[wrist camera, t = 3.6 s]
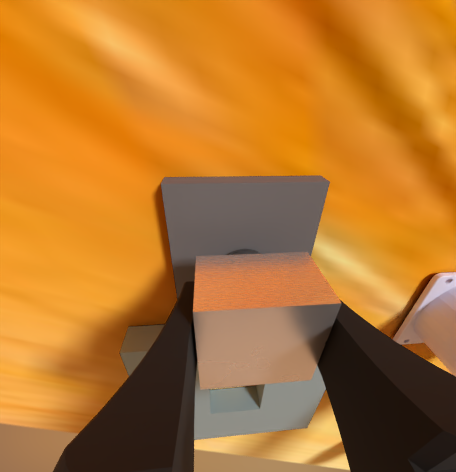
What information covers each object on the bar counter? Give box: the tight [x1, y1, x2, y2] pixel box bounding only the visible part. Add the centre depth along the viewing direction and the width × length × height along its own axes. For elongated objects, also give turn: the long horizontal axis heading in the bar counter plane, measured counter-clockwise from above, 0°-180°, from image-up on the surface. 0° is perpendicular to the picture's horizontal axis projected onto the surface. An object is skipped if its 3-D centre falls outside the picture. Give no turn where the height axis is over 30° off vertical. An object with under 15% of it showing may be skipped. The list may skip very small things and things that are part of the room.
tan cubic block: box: [193, 249, 342, 390], centre depth 11 cm, size 5×5×5 cm
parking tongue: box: [161, 176, 330, 300], centre depth 14 cm, size 8×10×1 cm
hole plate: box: [120, 324, 326, 440], centre depth 20 cm, size 16×16×2 cm
